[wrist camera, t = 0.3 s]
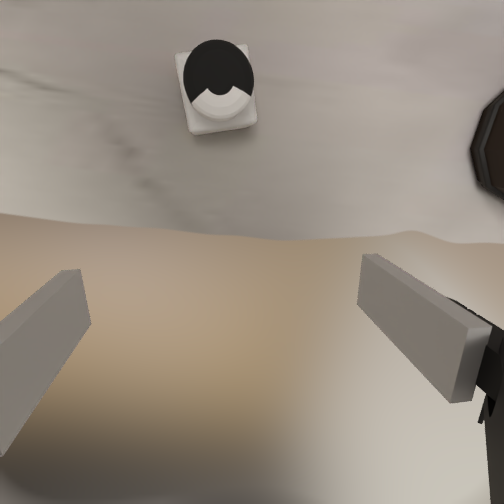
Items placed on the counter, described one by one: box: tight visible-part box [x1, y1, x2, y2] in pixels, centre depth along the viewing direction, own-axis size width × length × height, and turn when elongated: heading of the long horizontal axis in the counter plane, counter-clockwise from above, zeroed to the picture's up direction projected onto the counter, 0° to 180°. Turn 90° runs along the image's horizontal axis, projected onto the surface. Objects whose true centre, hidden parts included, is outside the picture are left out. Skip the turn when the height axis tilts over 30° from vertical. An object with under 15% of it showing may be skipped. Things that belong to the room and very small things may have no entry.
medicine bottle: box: [174, 40, 257, 135], centre depth 31 cm, size 7×7×12 cm
